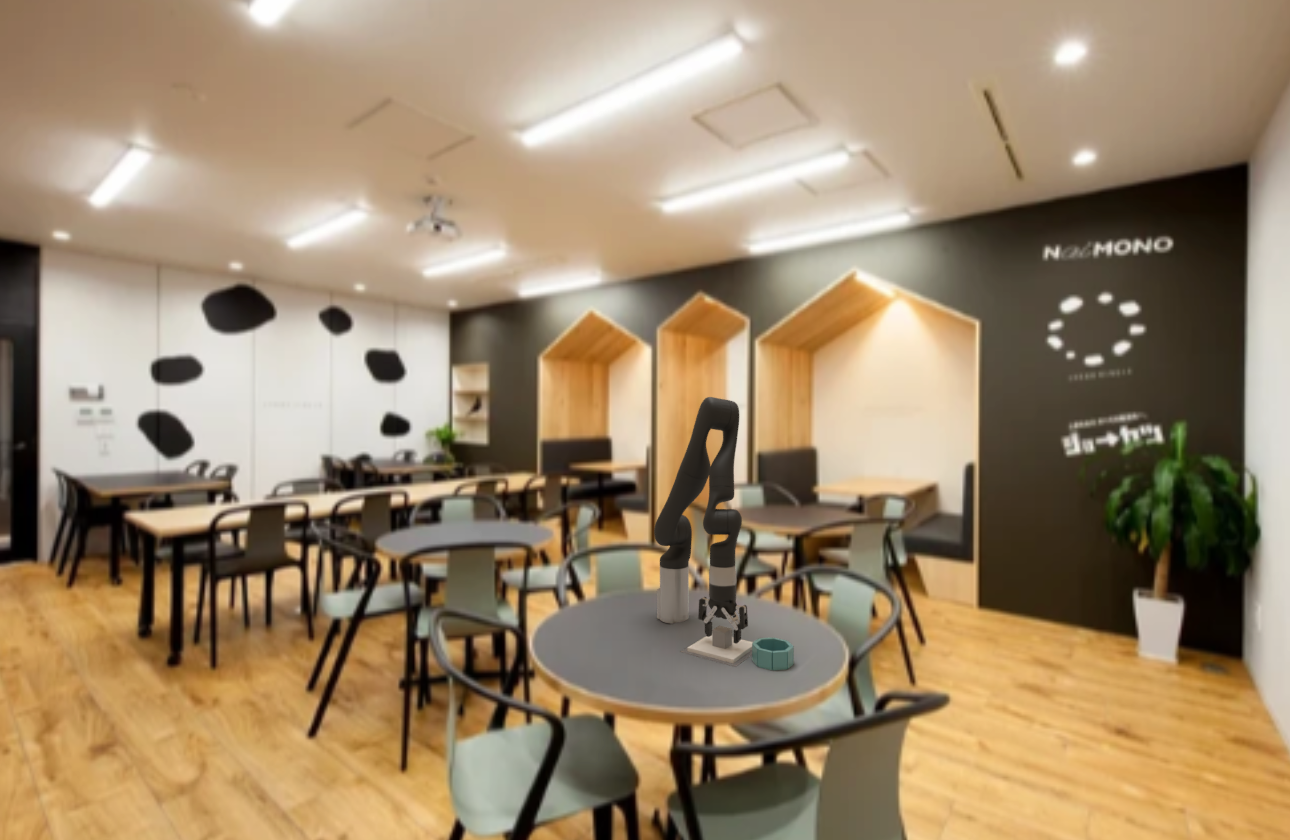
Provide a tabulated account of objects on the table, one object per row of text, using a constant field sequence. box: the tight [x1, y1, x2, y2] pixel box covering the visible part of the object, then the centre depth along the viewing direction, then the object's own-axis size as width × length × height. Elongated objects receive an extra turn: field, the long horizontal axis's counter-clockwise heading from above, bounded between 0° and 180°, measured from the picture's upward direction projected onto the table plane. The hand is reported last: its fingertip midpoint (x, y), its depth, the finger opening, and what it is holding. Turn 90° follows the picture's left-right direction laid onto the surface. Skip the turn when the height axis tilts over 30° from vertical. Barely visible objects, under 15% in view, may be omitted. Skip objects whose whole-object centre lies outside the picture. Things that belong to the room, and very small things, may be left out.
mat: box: [679, 635, 752, 668], centre depth 169 cm, size 17×17×1 cm
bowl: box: [751, 637, 795, 671], centre depth 160 cm, size 10×10×5 cm
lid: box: [686, 625, 754, 663], centre depth 169 cm, size 14×14×6 cm
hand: (722, 639), depth 169 cm, fingers open, 8 cm apart
